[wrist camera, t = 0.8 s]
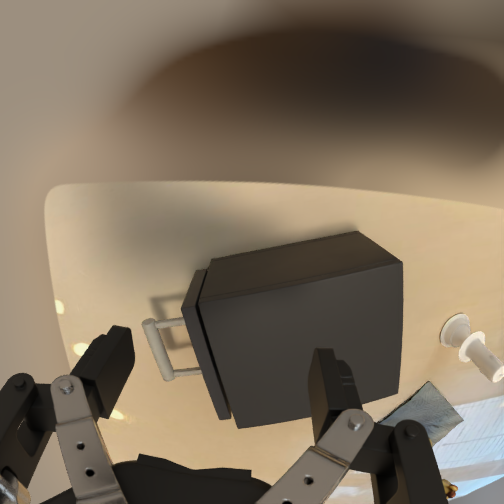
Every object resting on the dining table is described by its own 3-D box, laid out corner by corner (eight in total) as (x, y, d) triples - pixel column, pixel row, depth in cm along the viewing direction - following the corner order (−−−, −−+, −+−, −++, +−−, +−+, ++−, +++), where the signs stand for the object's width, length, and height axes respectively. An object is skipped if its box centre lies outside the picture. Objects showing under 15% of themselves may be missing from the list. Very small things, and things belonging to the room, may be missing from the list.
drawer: (178, 373, 37) (164, 424, 28) (145, 279, 33) (116, 318, 25) (344, 344, 36) (368, 391, 27) (335, 243, 32) (365, 272, 24)
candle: (472, 311, 37) (523, 354, 25) (462, 344, 38) (507, 390, 27) (445, 315, 37) (496, 362, 25) (435, 348, 38) (479, 399, 27)
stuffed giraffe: (396, 470, 46) (423, 529, 31) (347, 441, 43) (374, 517, 28) (462, 418, 44) (502, 471, 29) (426, 377, 41) (478, 443, 25)
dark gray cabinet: (238, 365, 37) (237, 429, 27) (211, 258, 34) (197, 303, 23) (365, 339, 37) (398, 393, 27) (358, 230, 33) (403, 261, 23)
